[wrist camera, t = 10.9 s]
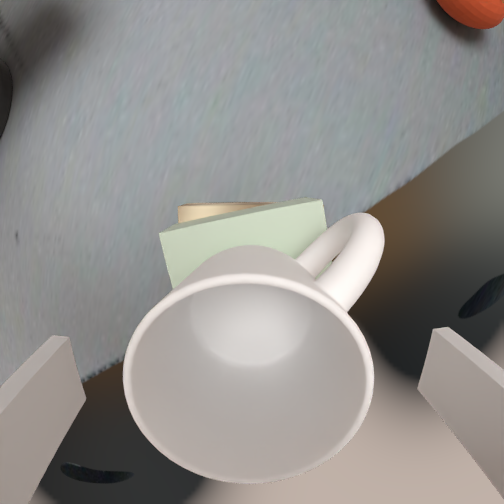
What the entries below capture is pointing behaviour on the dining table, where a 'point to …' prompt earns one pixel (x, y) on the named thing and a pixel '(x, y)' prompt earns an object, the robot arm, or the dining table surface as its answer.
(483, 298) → the dining table surface
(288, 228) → the tower top
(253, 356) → the mug
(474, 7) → the tomato
